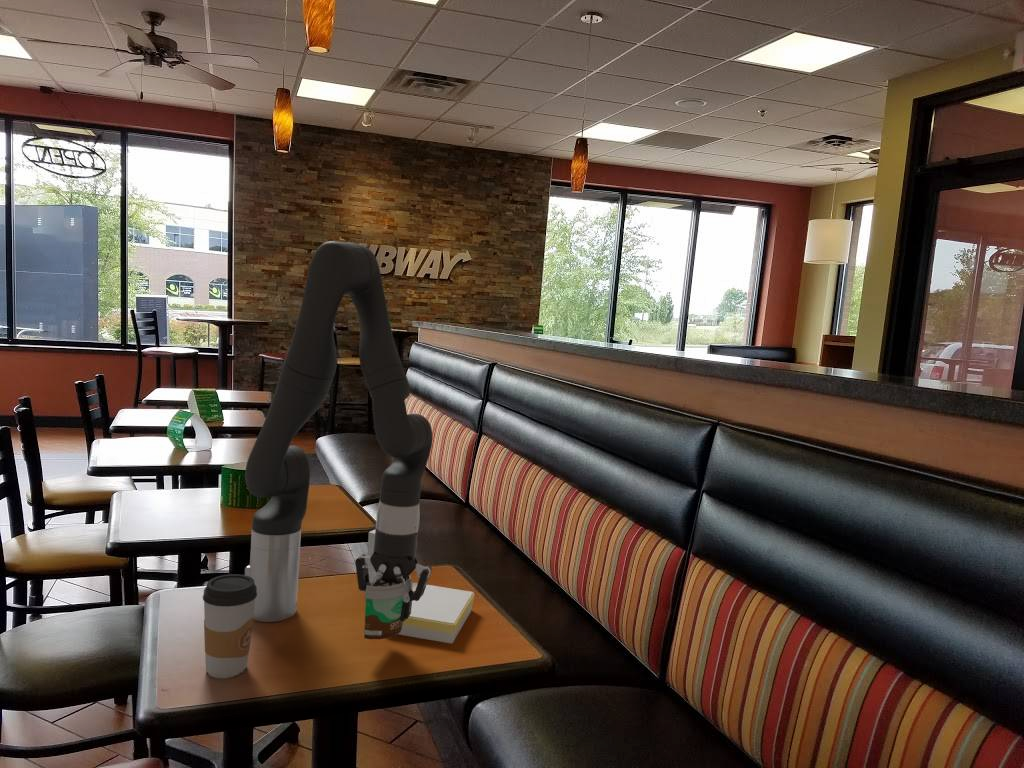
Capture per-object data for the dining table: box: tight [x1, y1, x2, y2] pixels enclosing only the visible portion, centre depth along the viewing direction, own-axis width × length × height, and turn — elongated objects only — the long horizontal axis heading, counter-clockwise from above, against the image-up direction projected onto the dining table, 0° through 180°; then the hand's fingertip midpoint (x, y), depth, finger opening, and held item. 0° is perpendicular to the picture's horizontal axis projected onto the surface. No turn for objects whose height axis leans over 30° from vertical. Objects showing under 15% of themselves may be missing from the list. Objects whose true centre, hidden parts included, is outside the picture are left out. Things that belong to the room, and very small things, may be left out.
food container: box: [363, 575, 412, 640], centre depth 126 cm, size 12×6×10 cm, turn 169°
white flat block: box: [398, 581, 475, 645], centre depth 141 cm, size 14×16×4 cm
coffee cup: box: [202, 573, 257, 679], centre depth 116 cm, size 8×8×15 cm
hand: (388, 616), depth 126 cm, fingers closed on food container, 5 cm apart
